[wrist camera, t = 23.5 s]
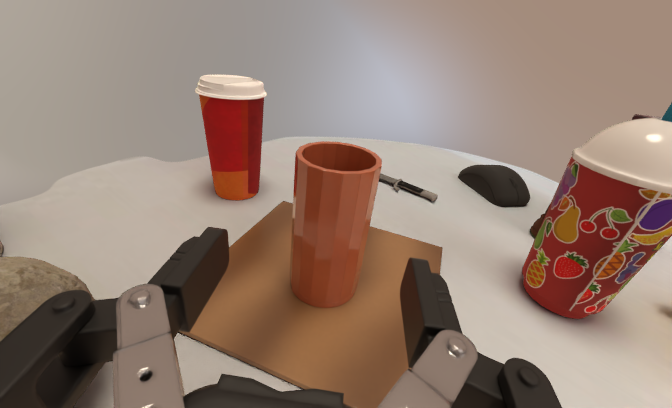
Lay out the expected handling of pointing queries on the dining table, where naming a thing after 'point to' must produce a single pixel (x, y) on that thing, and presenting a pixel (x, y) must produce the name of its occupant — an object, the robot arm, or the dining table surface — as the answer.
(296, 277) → the cup
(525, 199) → the computer mouse
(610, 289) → the smoothie
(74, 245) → the dining table surface
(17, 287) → the decorative stone
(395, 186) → the knife
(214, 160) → the paper cup
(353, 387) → the mat
